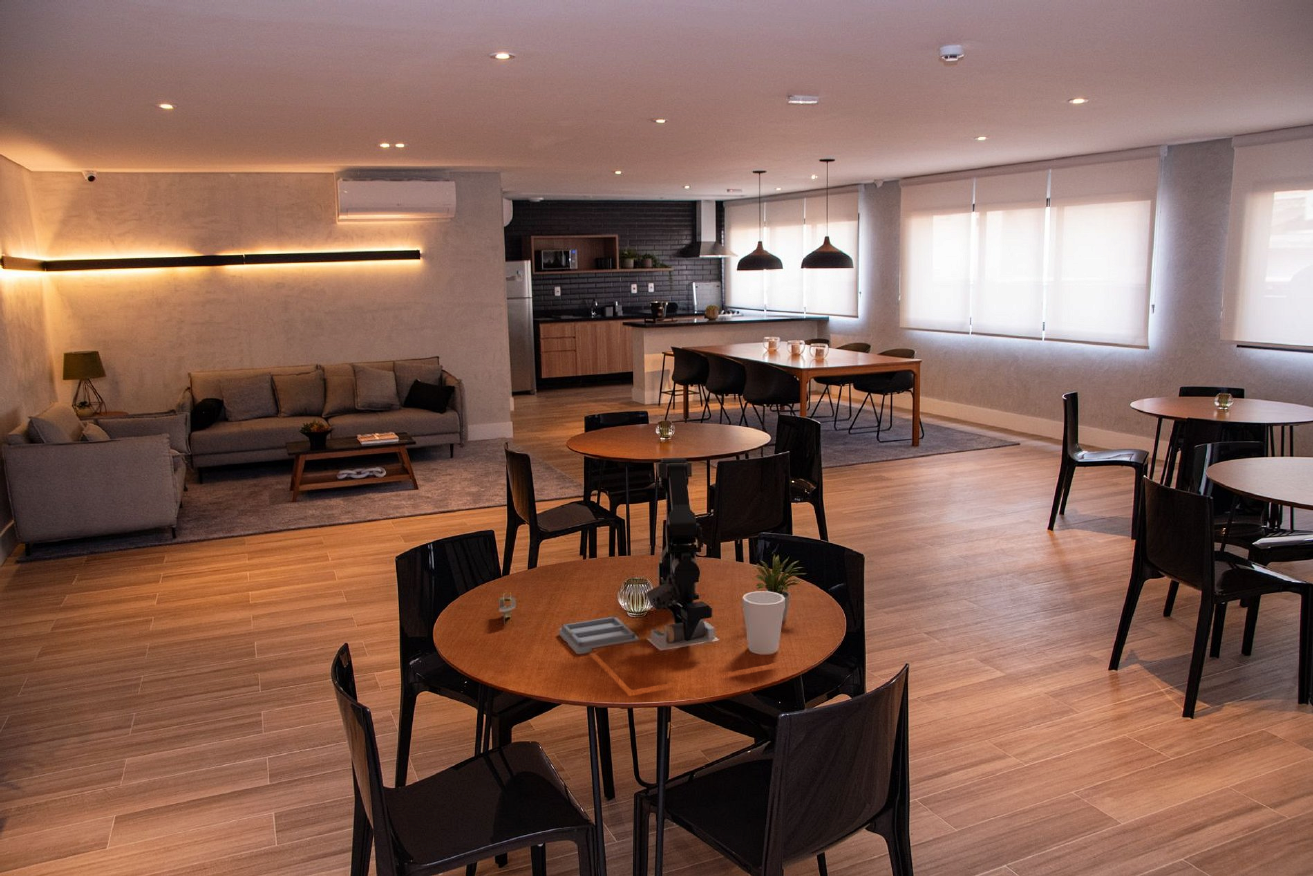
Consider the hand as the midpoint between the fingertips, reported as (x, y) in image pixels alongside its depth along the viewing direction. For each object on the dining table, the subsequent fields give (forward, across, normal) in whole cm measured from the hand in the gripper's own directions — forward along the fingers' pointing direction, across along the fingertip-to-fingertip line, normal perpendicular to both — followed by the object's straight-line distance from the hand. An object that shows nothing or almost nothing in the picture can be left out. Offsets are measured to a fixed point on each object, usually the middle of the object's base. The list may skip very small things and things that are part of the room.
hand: (683, 637), depth 222 cm
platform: (+2, -33, -33) cm, 47 cm away
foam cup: (+2, +13, +14) cm, 19 cm away
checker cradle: (+2, 0, 0) cm, 2 cm away
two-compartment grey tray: (+2, -11, -17) cm, 20 cm away
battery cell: (0, 0, 0) cm, 1 cm away
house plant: (+2, -5, +27) cm, 27 cm away
